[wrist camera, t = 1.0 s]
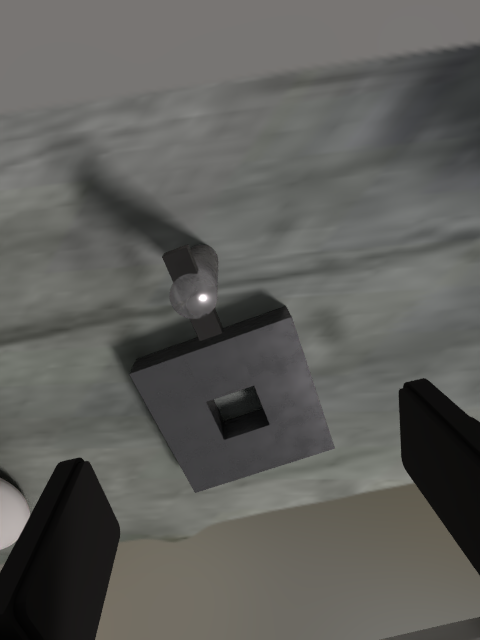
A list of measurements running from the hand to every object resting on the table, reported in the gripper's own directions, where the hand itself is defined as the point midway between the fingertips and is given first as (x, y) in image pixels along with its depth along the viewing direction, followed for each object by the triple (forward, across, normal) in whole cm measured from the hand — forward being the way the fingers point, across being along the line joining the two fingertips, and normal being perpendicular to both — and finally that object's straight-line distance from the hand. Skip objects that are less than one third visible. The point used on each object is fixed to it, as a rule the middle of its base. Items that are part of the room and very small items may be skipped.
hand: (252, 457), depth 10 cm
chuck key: (+24, +1, -1) cm, 24 cm away
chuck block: (+24, +1, +14) cm, 28 cm away
